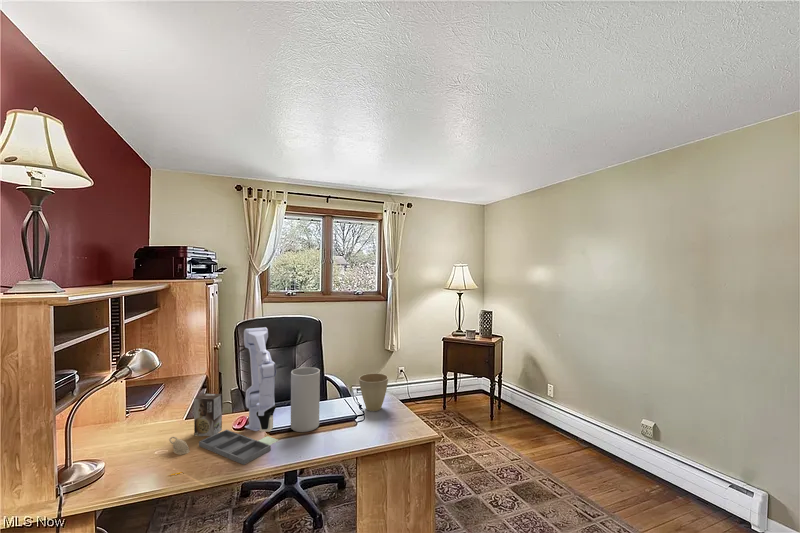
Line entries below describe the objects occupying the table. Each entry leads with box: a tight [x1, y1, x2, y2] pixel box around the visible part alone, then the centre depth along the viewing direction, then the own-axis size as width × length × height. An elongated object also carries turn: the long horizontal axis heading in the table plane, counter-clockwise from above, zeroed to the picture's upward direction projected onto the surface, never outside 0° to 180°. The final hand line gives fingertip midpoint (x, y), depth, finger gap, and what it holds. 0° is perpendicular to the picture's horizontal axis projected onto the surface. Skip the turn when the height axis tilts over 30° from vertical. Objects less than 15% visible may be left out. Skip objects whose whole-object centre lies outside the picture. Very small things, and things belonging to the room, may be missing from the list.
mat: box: [257, 435, 280, 446], centre depth 150 cm, size 7×7×1 cm
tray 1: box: [198, 429, 241, 453], centre depth 149 cm, size 12×9×2 cm
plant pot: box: [358, 372, 389, 412], centre depth 186 cm, size 15×15×16 cm
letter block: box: [259, 414, 274, 433], centre depth 150 cm, size 4×4×5 cm
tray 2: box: [212, 434, 255, 459], centre depth 144 cm, size 12×9×2 cm
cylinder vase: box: [290, 366, 321, 433], centre depth 165 cm, size 12×12×25 cm
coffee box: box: [193, 393, 223, 437], centre depth 157 cm, size 9×6×16 cm
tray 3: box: [227, 439, 272, 466], centre depth 140 cm, size 12×9×2 cm
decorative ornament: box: [168, 436, 191, 456], centre depth 141 cm, size 4×8×5 cm, turn 63°
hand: (266, 426), depth 150 cm, fingers closed on letter block, 4 cm apart
